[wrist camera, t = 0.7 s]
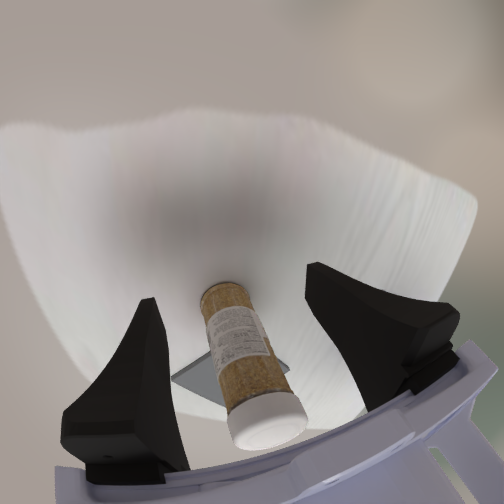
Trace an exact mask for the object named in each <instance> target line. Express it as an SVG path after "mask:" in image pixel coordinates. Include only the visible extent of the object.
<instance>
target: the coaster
mask: <svg viewBox="0 0 504 504" xmlns="http://www.w3.org/2000/svg"><path fill="white" fill-rule="evenodd" d="M277 361H278V363H279V364H280V367H281V369H282V371H283V373H284V374H285V373H287V372H288V371H290V369H289V367H288V366H287V365H285V364H284V363H283V362H281V361H280V360H279V359H277ZM171 381H172V382H174V383H176V384H178V385H180V386H182V387H184V388H186V389H188V390H190V391H192V392H194V393H196V394H198V395H200V396H202V397H204V398H206V399H208V400H210V401H212V402H215V403H217V404H219V405H221V406H224V407H226V405H225V402H224V398H223V395H222V390H221V388H220V385H219V383H218V380H217V376H216V371H215V367H214V363H213V359H212V355H211V351H210V352H208V353H207V354H205V355H204V356H202V357H201V358H199V359H198V360H196V361H195V362H193V363H192V364H190V365H189V366H187V367H186V368H184V369H182V370H181V371H179V372H178V373H176V374H175V375H173V376H171Z"/></svg>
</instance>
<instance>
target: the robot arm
mask: <svg viewBox="0 0 504 504" xmlns="http://www.w3.org/2000/svg"><path fill="white" fill-rule="evenodd" d="M305 299H306V301H307V303H308V305H309V307H310V309H311V311H312V313H313V315H314V316H315V317H316V319H317V320H318V322H319V323H320V324H321V326H322V327H323V329H324V330H325V331H326V333H327V334H328V336H329V337H330V338H331V340H332V341H333V342H334V344H335V345H336V347H337V348H338V350H339V351H340V353H341V355H342V357H343V358H344V360H345V362H346V364H347V366H348V368H349V370H350V372H351V374H352V376H353V378H354V380H355V382H356V384H357V387H358V389H359V391H360V393H361V396H362V398H363V401H364V403H365V406H366V409H367V411H368V413H367V414H365V415H363V416H361V417H359V418H357V419H355V420H353V421H350V422H348V423H346V424H344V425H342V426H340V427H337V428H335V429H333V430H331V431H328V432H326V433H323V434H321V435H319V436H316V437H314V438H311V439H308V440H306V441H303V442H301V443H298V444H295V445H292V446H289V447H286V448H283V449H280V450H277V451H274V452H270V453H267V454H264V455H260V456H257V457H253V458H249V459H245V460H241V461H237V462H233V463H228V464H224V465H219V466H214V467H208V468H202V469H197V470H191V469H190V467H189V464H188V460H187V457H186V454H185V451H184V447H183V444H182V440H181V436H180V433H179V428H178V424H177V420H176V416H175V411H174V406H173V401H172V395H171V384H170V366H169V348H168V342H167V335H166V330H165V327H164V324H163V321H162V318H161V315H160V313H159V310H158V307H157V304H156V301H155V298H154V297H152V298H147V299H142V300H141V301H140V303H139V305H138V308H137V310H136V312H135V314H134V317H133V319H132V321H131V323H130V325H129V327H128V329H127V331H126V333H125V335H124V337H123V339H122V341H121V343H120V345H119V346H118V348H117V350H116V352H115V353H114V355H113V357H112V358H111V360H110V361H109V363H108V364H107V366H106V367H105V368H104V370H103V371H102V372H101V373H100V375H99V376H98V377H97V379H96V380H95V381H94V382H93V383H92V384H91V386H90V387H89V388H88V389H87V390H86V391H85V392H84V393H83V394H82V395H81V396H80V397H79V398H78V399H77V400H76V401H75V402H74V403H72V404H71V405H70V406H69V407H68V408H67V409H66V410H64V412H63V416H62V424H61V440H60V443H61V445H62V446H63V448H64V449H66V450H67V451H68V452H69V453H70V454H72V455H73V456H75V457H77V458H78V459H79V460H81V461H82V462H84V463H85V466H86V470H83V469H80V468H72V467H63V466H55V497H56V504H465V502H464V501H463V500H462V498H461V496H460V495H459V493H458V492H457V490H456V489H455V488H454V486H453V485H452V483H451V481H450V480H449V478H448V477H447V476H446V474H445V473H444V471H443V470H442V468H441V467H440V465H439V464H438V462H437V461H436V460H435V458H434V457H433V455H432V454H431V452H430V451H429V449H428V448H438V449H439V451H440V452H441V453H442V455H443V456H444V457H445V459H446V460H447V461H448V462H449V464H450V465H451V466H452V467H453V469H454V470H455V472H456V473H457V474H458V475H459V477H460V478H461V479H462V481H463V482H464V484H465V485H466V486H467V488H468V489H469V490H470V492H471V493H472V494H473V495H474V497H475V498H476V500H477V501H478V503H479V504H504V462H503V460H502V459H501V458H500V456H499V455H498V454H497V452H496V451H495V450H494V448H493V447H492V446H491V444H490V443H489V442H488V440H487V439H486V438H485V436H484V435H483V434H482V433H481V431H480V430H479V429H478V428H477V426H476V425H475V424H474V423H473V421H472V420H471V419H470V416H471V413H472V409H473V406H474V402H475V399H476V396H477V395H478V394H479V393H480V392H481V390H482V389H483V388H484V387H485V386H486V384H487V383H488V382H489V381H490V380H491V378H492V377H493V376H494V375H495V373H496V372H497V371H498V367H497V366H496V365H495V364H494V363H493V362H492V361H491V360H490V359H489V358H488V357H487V356H486V354H484V352H483V351H482V350H481V349H480V348H479V347H478V346H477V345H476V344H474V342H473V341H472V340H471V339H470V340H468V341H467V342H466V343H464V344H463V345H462V346H460V347H459V348H458V349H457V350H456V352H455V353H454V352H453V351H452V350H451V349H452V347H453V344H452V343H451V342H450V341H449V340H450V339H451V337H452V335H453V333H454V331H455V329H456V327H457V325H458V323H459V319H460V313H459V312H458V311H457V310H456V309H455V308H454V307H453V306H451V305H450V304H449V303H442V302H429V301H423V300H416V299H411V298H407V297H403V296H398V295H395V294H391V293H388V292H386V291H382V290H379V289H377V288H374V287H372V286H369V285H367V284H364V283H362V282H360V281H358V280H355V279H353V278H351V277H349V276H347V275H345V274H343V273H341V272H339V271H337V270H335V269H333V268H331V267H329V266H327V265H325V264H322V263H320V262H315V263H311V264H307V273H306V288H305Z"/></svg>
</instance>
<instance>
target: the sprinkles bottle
mask: <svg viewBox="0 0 504 504" xmlns="http://www.w3.org/2000/svg"><path fill="white" fill-rule="evenodd" d="M200 307H201V312H202V315H203V316H204V319H205V324H206V333H207V338H208V343H209V347H210V351H211V355H212V359H213V363H214V367H215V371H216V376H217V380H218V383H219V385H220V388H221V390H222V395H223V398H224V402H225V405H226V409H227V414H228V418H227V424H228V427H229V431H230V434H231V437H232V440H233V442H234V444H235V445H236V446H237V447H238V448H240V449H244V450H262V449H268V448H272V447H275V446H278V445H280V444H283V443H285V442H287V441H289V440H291V439H293V438H294V437H296V436H297V435H299V434H300V433H301V432H302V431H303V430H304V429H305V428H306V426H307V424H308V417H307V415H306V412H305V410H304V408H303V406H302V404H301V402H300V400H299V398H298V397H297V396H296V395H294V393H293V391H292V390H291V389H290V386H289V384H288V382H287V380H286V378H285V375H284V373H283V371H282V369H281V367H280V364H279V363H278V361H277V358H276V356H275V354H274V352H273V349H272V347H271V345H270V342H269V339H268V337H267V335H266V333H265V330H264V328H263V326H262V324H261V322H260V319H259V317H258V315H257V314H256V313H255V311H254V308H253V306H252V304H251V302H250V297H249V294H248V293H247V291H246V290H245V289H244V288H242V287H241V286H239V285H236V284H233V283H225V284H219V285H216V286H214V287H212V288H210V289H209V290H208V291H207V292H206V293H205V294H204V296H203V298H202V300H201V306H200Z"/></svg>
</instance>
